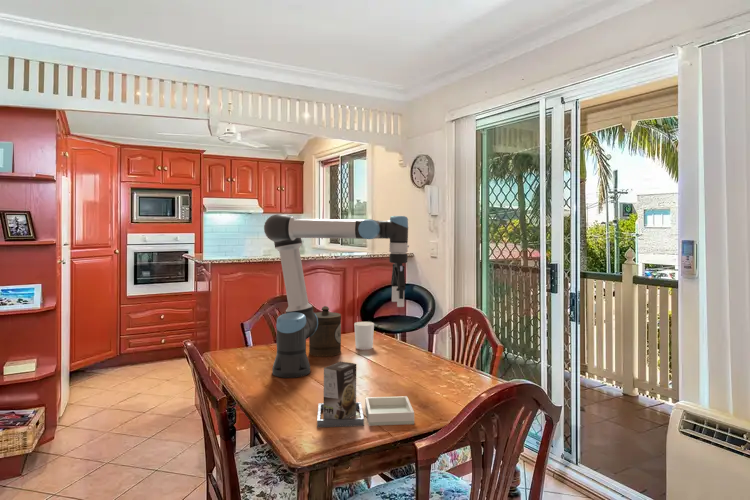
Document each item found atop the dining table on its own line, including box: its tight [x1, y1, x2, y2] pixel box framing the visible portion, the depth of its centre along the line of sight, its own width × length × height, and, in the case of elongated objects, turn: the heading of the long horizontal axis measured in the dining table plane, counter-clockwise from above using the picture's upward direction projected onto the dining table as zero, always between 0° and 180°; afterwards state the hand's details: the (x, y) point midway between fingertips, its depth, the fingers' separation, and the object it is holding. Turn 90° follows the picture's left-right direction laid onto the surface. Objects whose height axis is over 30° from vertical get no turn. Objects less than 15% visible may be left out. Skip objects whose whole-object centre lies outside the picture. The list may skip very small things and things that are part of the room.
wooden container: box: [308, 305, 342, 358], centre depth 217 cm, size 15×15×22 cm
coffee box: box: [322, 360, 358, 419], centre depth 141 cm, size 9×6×16 cm
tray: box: [364, 395, 415, 427], centre depth 143 cm, size 14×14×4 cm
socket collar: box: [316, 401, 365, 428], centre depth 141 cm, size 14×14×2 cm
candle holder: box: [353, 321, 375, 351], centre depth 227 cm, size 10×10×12 cm
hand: (397, 304), depth 192 cm, fingers open, 13 cm apart
